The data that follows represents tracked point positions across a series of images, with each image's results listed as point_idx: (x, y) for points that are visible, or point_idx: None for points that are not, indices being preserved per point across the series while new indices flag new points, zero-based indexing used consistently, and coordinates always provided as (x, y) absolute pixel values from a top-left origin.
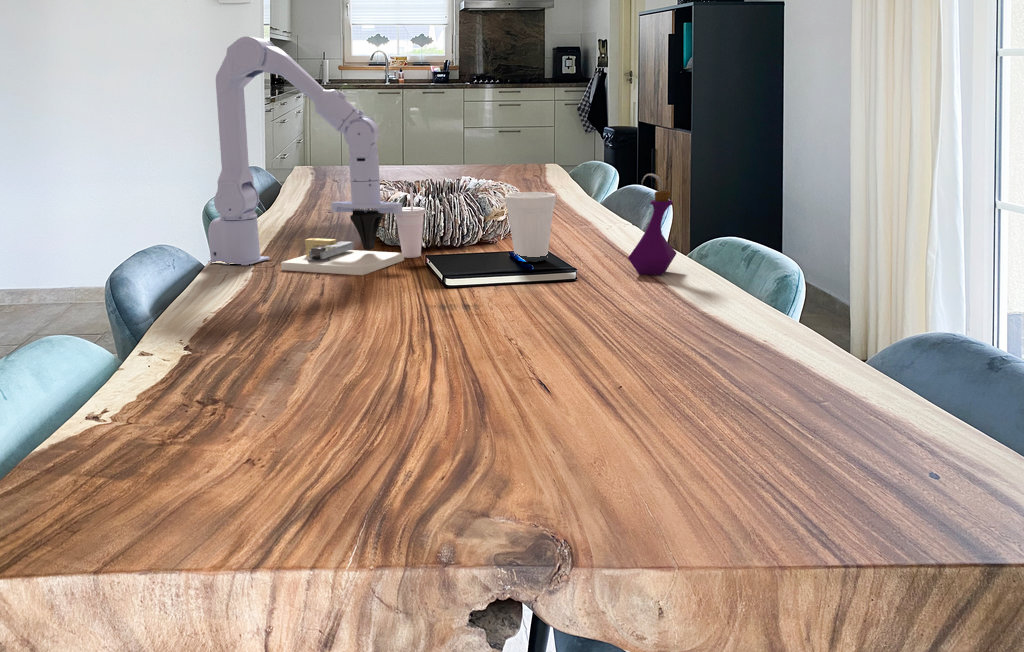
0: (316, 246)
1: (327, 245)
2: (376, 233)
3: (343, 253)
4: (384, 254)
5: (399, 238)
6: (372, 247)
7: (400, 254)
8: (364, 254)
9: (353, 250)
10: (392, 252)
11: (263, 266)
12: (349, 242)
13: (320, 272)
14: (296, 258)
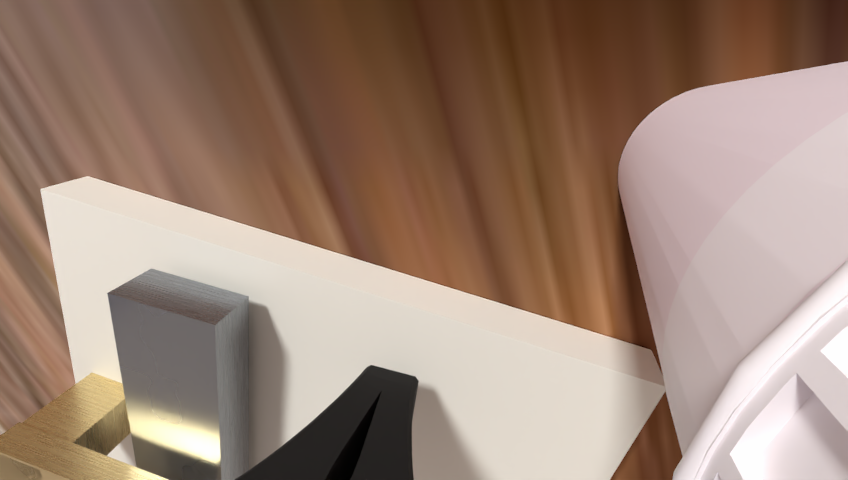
0: (91, 445)
1: (134, 437)
2: (412, 470)
3: None
4: (520, 422)
5: (636, 263)
6: (413, 405)
7: (643, 421)
8: None
9: (244, 260)
10: (566, 358)
11: (15, 413)
12: (202, 346)
13: None
14: None
